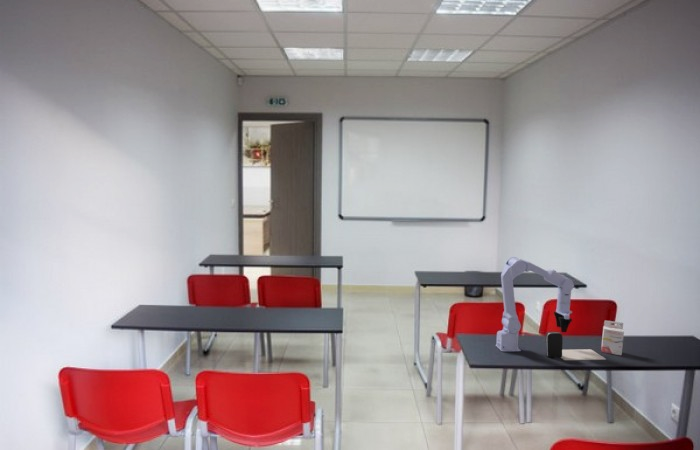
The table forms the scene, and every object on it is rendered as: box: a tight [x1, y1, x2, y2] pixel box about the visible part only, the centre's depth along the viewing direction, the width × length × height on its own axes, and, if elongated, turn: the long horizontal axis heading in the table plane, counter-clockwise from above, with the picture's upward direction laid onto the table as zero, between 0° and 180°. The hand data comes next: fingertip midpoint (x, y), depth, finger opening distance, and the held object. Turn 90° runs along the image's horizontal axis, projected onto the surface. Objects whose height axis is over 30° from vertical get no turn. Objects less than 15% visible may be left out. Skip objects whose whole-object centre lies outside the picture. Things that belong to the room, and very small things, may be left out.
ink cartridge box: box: [600, 319, 625, 356], centre depth 230 cm, size 9×5×15 cm, turn 65°
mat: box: [560, 348, 607, 361], centre depth 226 cm, size 20×12×1 cm, turn 95°
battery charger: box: [545, 331, 564, 358], centre depth 224 cm, size 7×4×11 cm, turn 89°
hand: (561, 329), depth 232 cm, fingers open, 7 cm apart
